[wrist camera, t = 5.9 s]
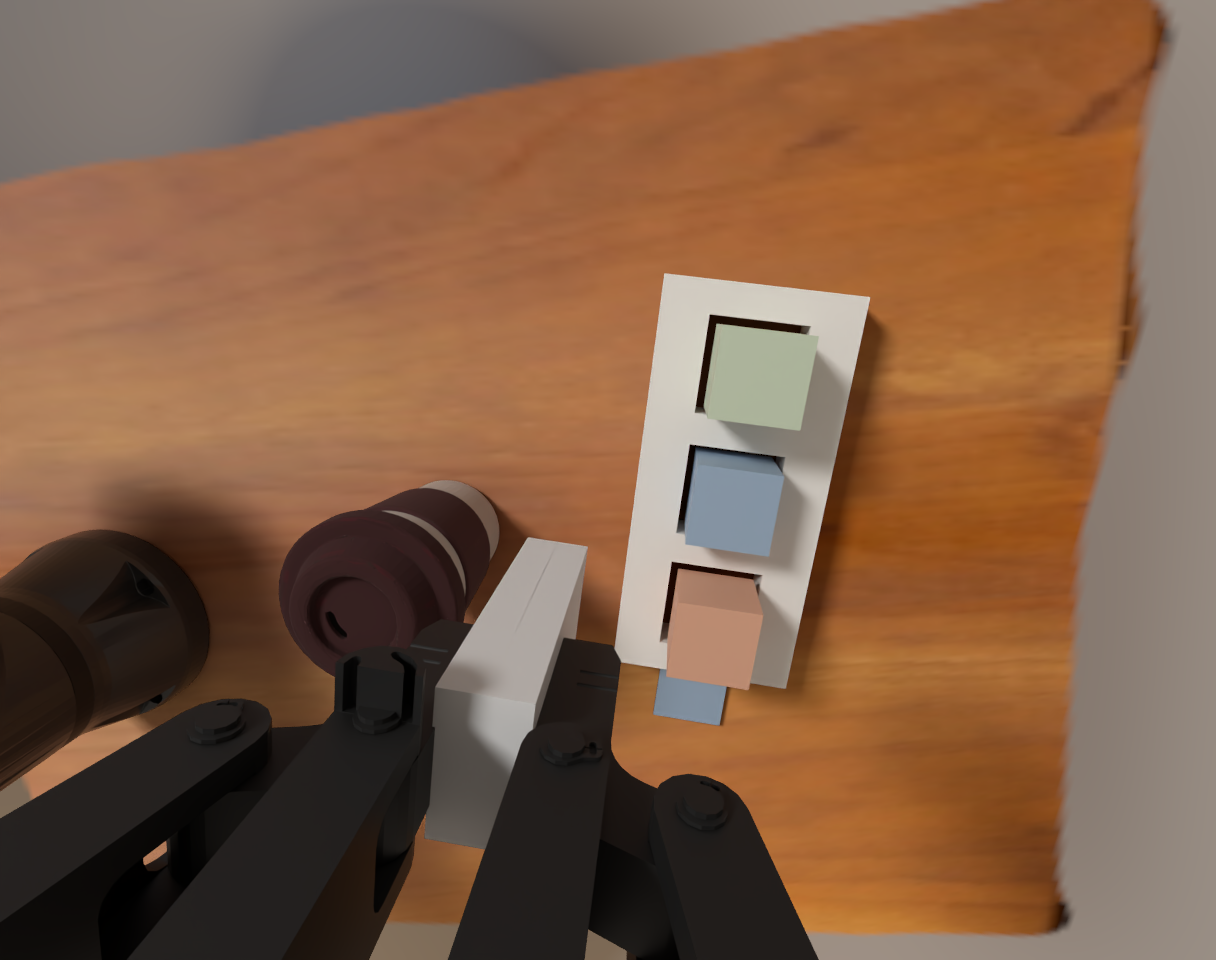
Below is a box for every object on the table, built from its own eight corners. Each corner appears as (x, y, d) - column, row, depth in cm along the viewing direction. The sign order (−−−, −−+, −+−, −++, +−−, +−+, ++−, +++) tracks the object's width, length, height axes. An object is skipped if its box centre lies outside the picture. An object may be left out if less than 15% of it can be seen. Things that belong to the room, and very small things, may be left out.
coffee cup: (522, 468, 45) (448, 540, 30) (515, 596, 47) (444, 719, 33) (387, 453, 45) (252, 516, 31) (388, 580, 48) (263, 693, 34)
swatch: (653, 711, 48) (653, 714, 48) (662, 653, 47) (662, 656, 47) (719, 722, 48) (719, 725, 48) (729, 664, 47) (730, 666, 46)
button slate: (684, 518, 43) (685, 544, 38) (695, 446, 42) (698, 464, 37) (758, 528, 43) (768, 556, 38) (771, 457, 42) (784, 476, 36)
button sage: (703, 405, 39) (707, 418, 34) (716, 323, 38) (722, 324, 33) (784, 416, 39) (800, 430, 34) (800, 333, 38) (818, 336, 33)
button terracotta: (667, 635, 44) (666, 676, 39) (678, 568, 42) (678, 602, 37) (740, 646, 43) (748, 690, 38) (753, 579, 42) (763, 615, 37)
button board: (616, 639, 47) (612, 660, 44) (665, 276, 40) (664, 273, 38) (778, 665, 46) (785, 688, 43) (856, 298, 40) (870, 297, 37)
